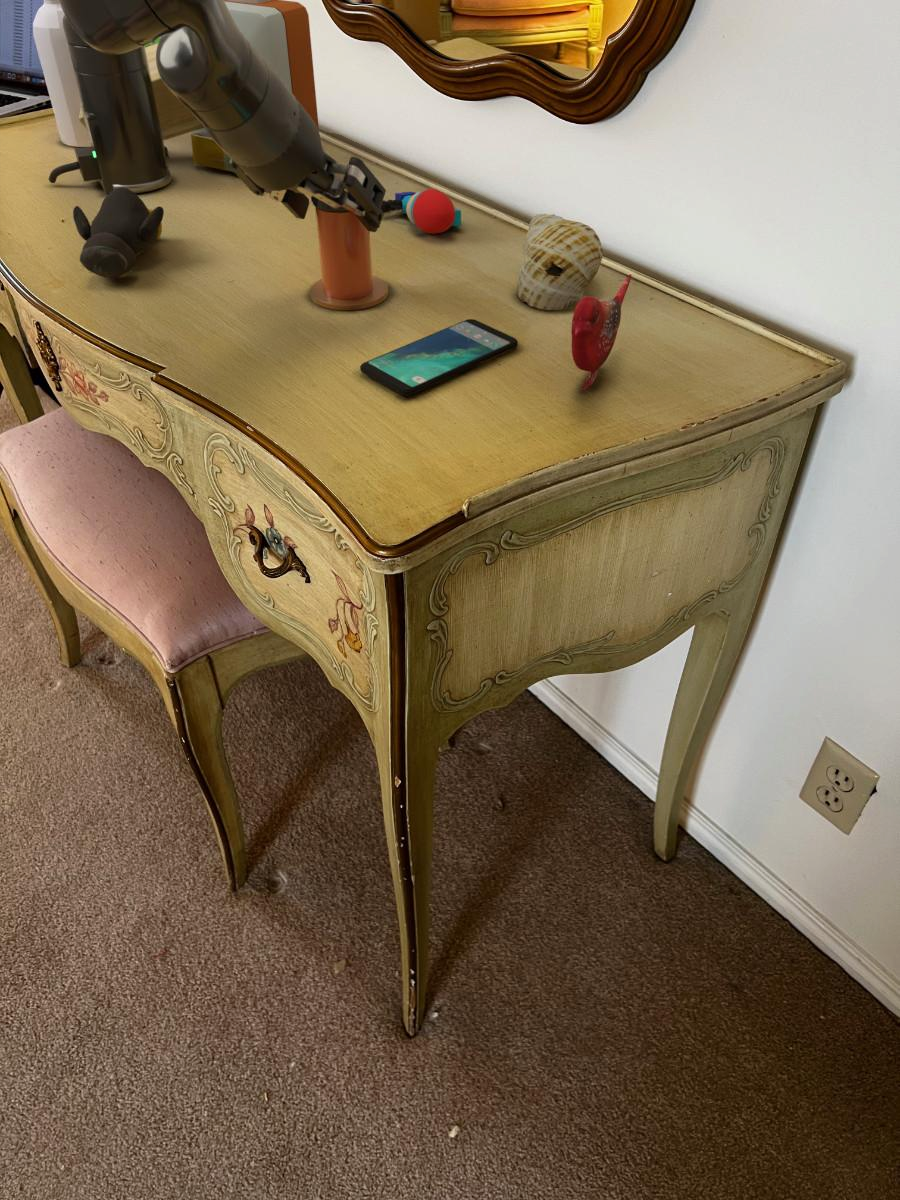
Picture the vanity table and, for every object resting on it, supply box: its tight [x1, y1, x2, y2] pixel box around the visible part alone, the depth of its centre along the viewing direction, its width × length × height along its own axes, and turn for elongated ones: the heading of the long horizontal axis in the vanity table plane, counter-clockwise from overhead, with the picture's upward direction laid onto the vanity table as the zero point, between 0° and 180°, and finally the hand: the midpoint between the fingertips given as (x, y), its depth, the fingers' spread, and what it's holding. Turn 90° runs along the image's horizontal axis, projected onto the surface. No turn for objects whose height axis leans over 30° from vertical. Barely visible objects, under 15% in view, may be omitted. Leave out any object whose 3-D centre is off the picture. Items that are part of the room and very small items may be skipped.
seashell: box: [516, 213, 604, 311], centre depth 99 cm, size 10×10×10 cm
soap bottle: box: [32, 0, 91, 148], centre depth 134 cm, size 9×9×24 cm
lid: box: [310, 178, 356, 211], centre depth 93 cm, size 6×6×2 cm
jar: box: [314, 206, 373, 300], centre depth 96 cm, size 5×5×11 cm
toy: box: [72, 187, 165, 279], centre depth 104 cm, size 10×7×15 cm
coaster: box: [310, 274, 389, 311], centre depth 100 cm, size 8×8×1 cm
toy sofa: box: [79, 43, 204, 141], centre depth 129 cm, size 21×9×10 cm
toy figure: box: [380, 188, 462, 235], centre depth 114 cm, size 8×5×15 cm
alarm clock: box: [190, 0, 320, 134], centre depth 133 cm, size 18×9×21 cm, turn 58°
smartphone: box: [359, 318, 519, 397], centre depth 89 cm, size 7×1×15 cm
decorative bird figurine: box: [570, 274, 632, 394], centre depth 84 cm, size 3×18×10 cm, turn 156°
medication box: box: [190, 132, 235, 173], centre depth 129 cm, size 12×3×4 cm, turn 62°
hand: (339, 216), depth 94 cm, fingers open, 8 cm apart
